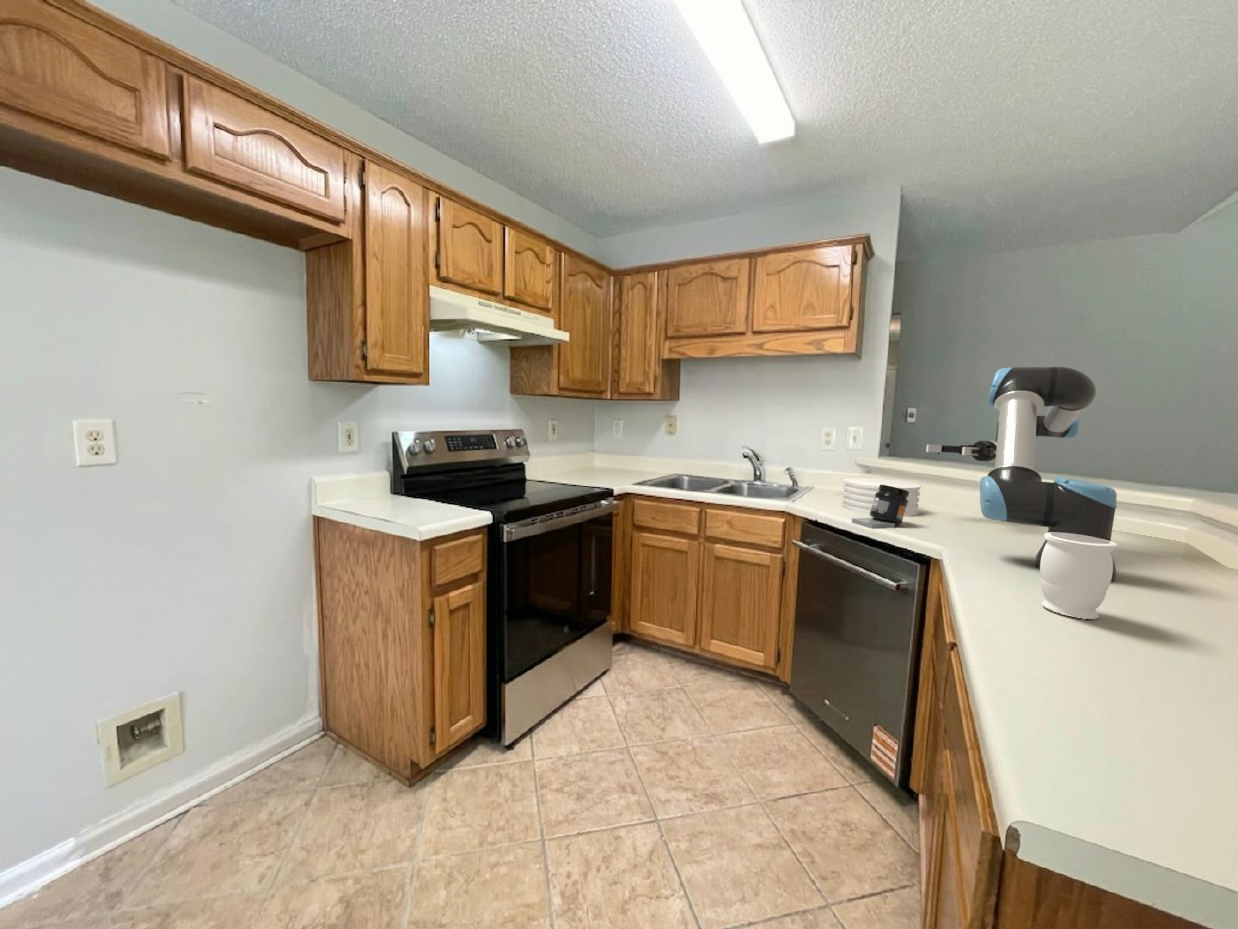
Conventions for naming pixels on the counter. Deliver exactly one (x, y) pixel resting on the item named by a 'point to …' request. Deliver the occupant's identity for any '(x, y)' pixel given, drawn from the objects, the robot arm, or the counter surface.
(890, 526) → the tile
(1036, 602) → the counter surface
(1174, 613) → the counter surface
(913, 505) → the plate stack
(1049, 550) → the jar
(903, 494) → the supplement container
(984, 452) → the robot arm
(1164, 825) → the counter surface
